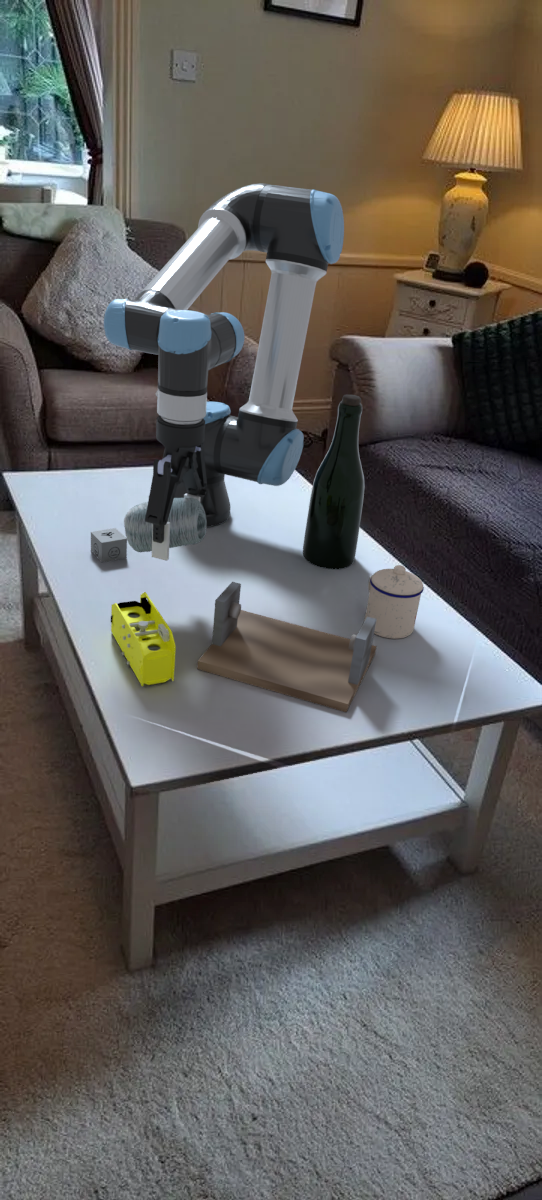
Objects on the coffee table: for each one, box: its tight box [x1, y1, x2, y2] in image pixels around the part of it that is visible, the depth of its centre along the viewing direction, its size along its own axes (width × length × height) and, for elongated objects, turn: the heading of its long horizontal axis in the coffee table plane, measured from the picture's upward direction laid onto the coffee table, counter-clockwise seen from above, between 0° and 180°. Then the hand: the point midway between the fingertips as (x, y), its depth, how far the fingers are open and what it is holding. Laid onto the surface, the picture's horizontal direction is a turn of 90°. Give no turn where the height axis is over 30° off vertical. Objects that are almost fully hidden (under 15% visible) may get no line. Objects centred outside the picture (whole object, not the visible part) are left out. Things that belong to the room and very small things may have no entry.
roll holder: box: [196, 581, 377, 713], centre depth 135 cm, size 18×24×10 cm
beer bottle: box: [302, 394, 365, 570], centre depth 163 cm, size 10×10×33 cm
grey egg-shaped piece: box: [123, 498, 207, 553], centre depth 142 cm, size 14×10×10 cm
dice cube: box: [90, 527, 128, 563], centre depth 160 cm, size 5×5×5 cm
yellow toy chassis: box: [110, 591, 177, 687], centre depth 131 cm, size 16×6×8 cm, turn 25°
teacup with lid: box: [364, 564, 425, 640], centre depth 148 cm, size 12×9×12 cm
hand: (175, 543), depth 144 cm, fingers closed on grey egg-shaped piece, 11 cm apart
